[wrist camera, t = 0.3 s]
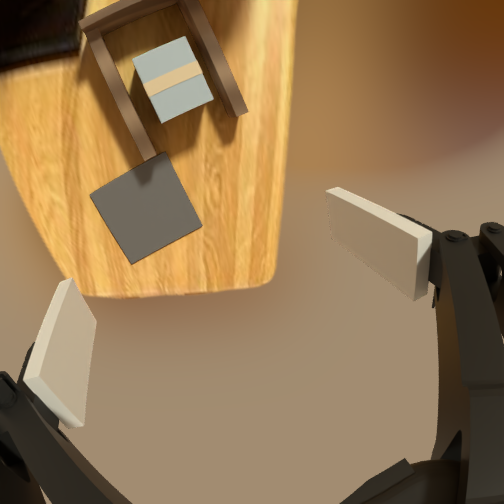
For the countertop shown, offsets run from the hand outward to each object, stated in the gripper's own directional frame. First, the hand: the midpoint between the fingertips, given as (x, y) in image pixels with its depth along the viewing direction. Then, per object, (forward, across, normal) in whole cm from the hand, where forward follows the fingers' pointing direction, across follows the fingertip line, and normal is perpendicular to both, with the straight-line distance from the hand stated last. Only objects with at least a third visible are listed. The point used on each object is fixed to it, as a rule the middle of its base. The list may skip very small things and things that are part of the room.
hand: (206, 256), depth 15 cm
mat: (+26, -5, -4) cm, 27 cm away
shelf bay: (+27, +2, +12) cm, 29 cm away
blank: (+27, +3, +10) cm, 29 cm away
